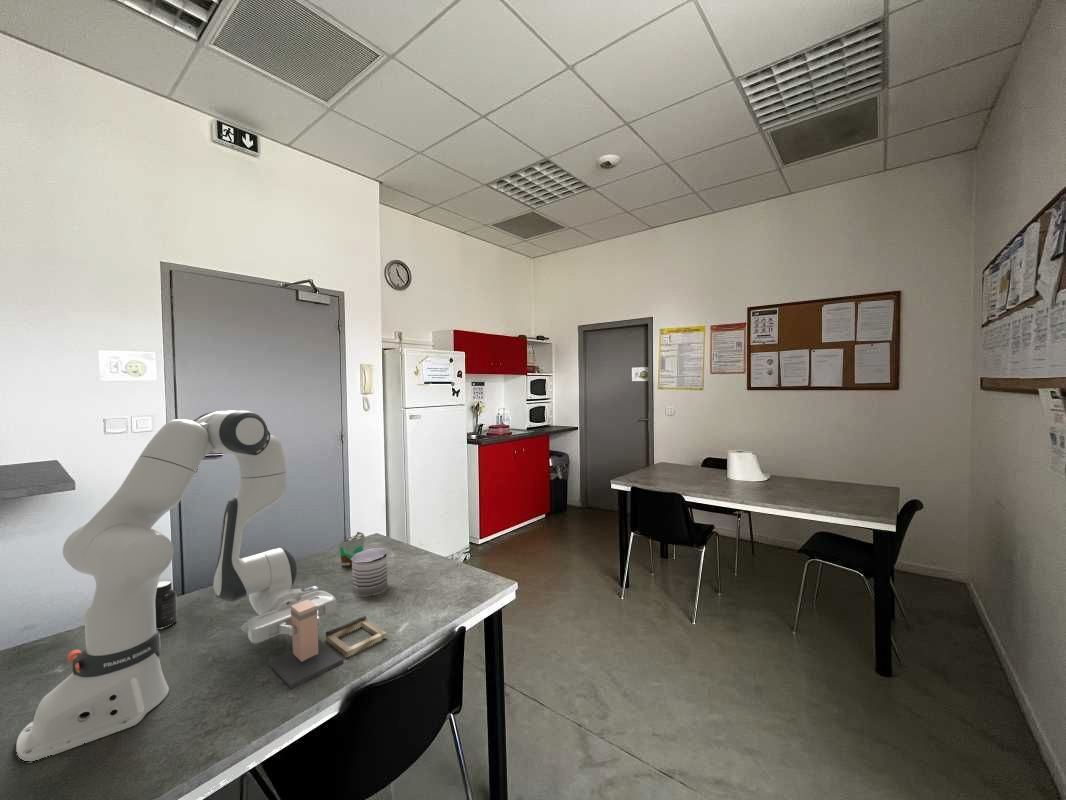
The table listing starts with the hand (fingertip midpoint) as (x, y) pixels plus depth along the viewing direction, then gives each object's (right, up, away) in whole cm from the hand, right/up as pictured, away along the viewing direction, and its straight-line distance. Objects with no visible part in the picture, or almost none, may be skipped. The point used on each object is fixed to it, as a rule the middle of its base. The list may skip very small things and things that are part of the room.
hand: (306, 626), depth 108 cm
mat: (-1, -9, +1) cm, 9 cm away
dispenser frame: (+8, -9, +11) cm, 16 cm away
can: (+1, -8, +41) cm, 41 cm away
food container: (-13, -8, +63) cm, 65 cm away
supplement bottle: (-51, -10, +20) cm, 56 cm away
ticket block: (-1, -7, +1) cm, 7 cm away
